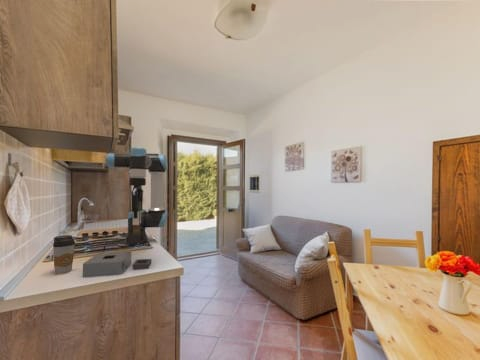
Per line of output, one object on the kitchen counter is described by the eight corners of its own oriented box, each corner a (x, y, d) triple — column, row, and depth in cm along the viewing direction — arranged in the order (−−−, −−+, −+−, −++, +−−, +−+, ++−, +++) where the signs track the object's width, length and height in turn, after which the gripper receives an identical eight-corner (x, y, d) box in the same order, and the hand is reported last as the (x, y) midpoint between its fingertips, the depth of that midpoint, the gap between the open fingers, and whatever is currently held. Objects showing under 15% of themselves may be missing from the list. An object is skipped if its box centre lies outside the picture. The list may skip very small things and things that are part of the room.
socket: (136, 264, 114) (136, 259, 114) (151, 263, 116) (151, 258, 116) (132, 269, 107) (132, 264, 107) (148, 268, 109) (148, 263, 109)
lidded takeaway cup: (67, 254, 130) (68, 234, 130) (75, 256, 126) (76, 235, 127) (49, 259, 122) (50, 237, 122) (56, 261, 118) (57, 239, 119)
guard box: (97, 264, 113) (98, 253, 114) (131, 262, 117) (131, 251, 117) (82, 277, 98) (82, 263, 98) (121, 274, 101) (121, 261, 101)
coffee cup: (54, 276, 98) (55, 243, 99) (49, 272, 103) (50, 240, 104) (76, 271, 105) (77, 239, 105) (71, 267, 110) (72, 237, 110)
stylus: (134, 234, 112) (134, 201, 113) (140, 234, 113) (141, 201, 113) (132, 235, 109) (132, 201, 110) (139, 235, 110) (139, 201, 110)
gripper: (134, 178, 119) (133, 221, 118) (124, 177, 103) (123, 227, 103) (149, 178, 121) (148, 221, 120) (141, 177, 105) (140, 226, 104)
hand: (136, 223), depth 111 cm, fingers closed on stylus, 3 cm apart
